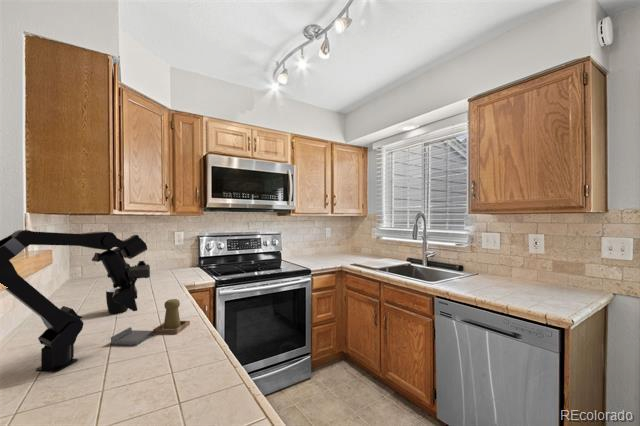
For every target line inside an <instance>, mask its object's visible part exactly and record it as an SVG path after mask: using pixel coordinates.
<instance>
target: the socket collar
mask: <svg viewBox="0 0 640 426" xmlns="http://www.w3.org/2000/svg"><path fill="white" fill-rule="evenodd" d="M180 324H181V326H180V327H178V328H177V329H163V327H164V322H163V323H161V324H160V325H158V326H156V327H154V328H153V329H152V331H153V335H155V334H157V335H158V334H159V335H161V334H162V335H178V334H179V333H180V332H181V331H183V330H185V329H186V328H188V327H189V326H190V325H191V321H190V320H180Z"/></svg>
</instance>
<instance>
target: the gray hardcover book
mask: <svg viewBox="0 0 640 426" xmlns="http://www.w3.org/2000/svg"><path fill="white" fill-rule="evenodd" d="M153 336H154V334H153V330H139V329H138V330H134V329H132V327H128V328H126V329H124V330H122V331H121V332H118V333H117V334H114V335H113V336H110V345H111V346H138V345H140V344H141V343H144V342H145V341H147V340H148V339H149V338H151V337H153Z"/></svg>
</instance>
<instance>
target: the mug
mask: <svg viewBox="0 0 640 426" xmlns="http://www.w3.org/2000/svg"><path fill="white" fill-rule="evenodd" d="M119 288H120V287H117V288H114V287H112V288H108V289H107V290H106V291H105V297H106V298H105V299H106V300H105V301H106V307H107V311H108V313H109V315H117V314H118V315H119V314H124V313H126V312H128V309H129V308H127V307H125V306H123V305H121V304H119V303H115V302H114V300H113V293H114V291H115V290H117V289H119Z"/></svg>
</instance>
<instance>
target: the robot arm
mask: <svg viewBox="0 0 640 426" xmlns="http://www.w3.org/2000/svg"><path fill="white" fill-rule="evenodd" d="M33 245H34V246H69V247H70V246H71V247H72V246H74V247H83V248H86V249H87V248H88V249H92V250H102V252H94V255H93V257H92V258H91V261H92V262H97V263H99V262H101V263H102V265H103V266H104V268H105V270H106V272H107V274H106V276H107V277H108V279H109V278H110V280H111V282H112V288H118V287H120V288H119V289H117V290H115V291H114V293H113V300H114V302H115V303H119V304H121V305H123V306H125V307H127V308H128V309H129V310H131V311H132V312H137V311H138V305H137V301H136V299H138V289H137V287H136V282H137V281H138V279H149V278H150V277H151V266H150V264H149V263H146V262H145V261H144V260H138V262H137V264H134V265H130V263H128V262H127V261H126V259H129V260H132V259H133V258H135V257H137V256H139V255H141V254H142V253H144V252H146V251H147V250H148V246H147V245H148V244H147V243H146V242H145V241H144V240H143V239H142V238H141V237H140V236H139V235H138V234H133V235H131V236H130V237H128V238H125V239H124V240H122V239H120V238H118V237H117V235H116V234H115V233H114V232H111V231H92V232H91V231H90V232H81V233H73V232H71V233H69V232H67V233H66V232H51V231H47V232H46V231H32V230H29V229H28V230H27V229H20V230H16V231H14V232H13V233H12V234H9V235H8V236H6V237H4V238H2V239H1V240H0V283H1V284H3V285H4V286H6V287H8V288H6V289H4V290H5V291H6V292H8V293H9V295H12V296H13V297H14V298H15V299H17V300H18V301H19V302H20V303H22V304H23V305H24V306H26V307H27V308H28V309H30V310H31V312H33V313H35V314H36V315H37V316H39V318H40V319H41V320H42V322H43V324H44V326H45V327H46V329H45V330H44V332H42V333H41V334H40V335H39V337H38V338H37V339H38V341H39V343H40V345H43V347H42V348H41V350H40V351H41V353H40V354H41V355H40V357H41V359H40V361H41V363H40V366H39V367H38V368H36V369H35V372H49V373H50V372H53V373H58V372H60V371H61V370H62V369H64V368H65V369H66V367H69V366H70V365H72V364H74V363H76V362H78V358H74V355H75V354H74V352H75V350H74V349H75V346H74V344H75V343H76V340H77V337H78V336H79V335H80V333H81V331H82V330H83V328H84V322H83V320H82V319H83V316H81V315H79V314H78V313H76V311H75V310H74V309H73V308H72V307H68V306H64V305H63V306H61V307H60V308H59V307H58V306H56V305H55V304H54V303H53V302H52V301H50V299H48V298H47V297H46V296H45V295H44V294H42V293H41V292H40V291H38V290H37V289H36V288H35V287H33V286H32V284H31V283H29V282H28V281H27V280H25V278H23V277H22V276H20V275H19V274H18V271H17V269H16V268H15V266H14V264H13V263H12V262H11V261H10V260H12V259H13V258H15V257H16V256H17V255H19V254H20V253H21V252H23V250H25V249H26V248H27V247H29V246H33ZM113 248H115V249H113Z"/></svg>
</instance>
